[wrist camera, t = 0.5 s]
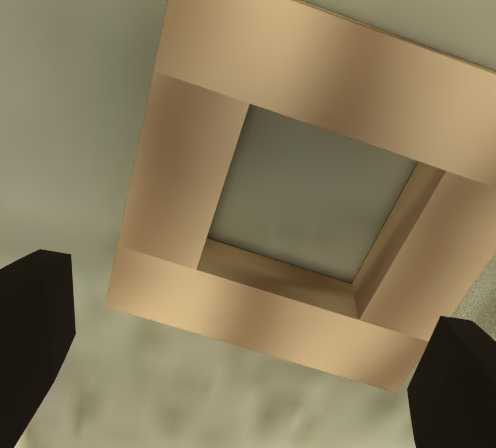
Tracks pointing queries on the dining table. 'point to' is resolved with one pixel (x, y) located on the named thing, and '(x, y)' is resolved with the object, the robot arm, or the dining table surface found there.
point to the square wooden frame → (335, 120)
